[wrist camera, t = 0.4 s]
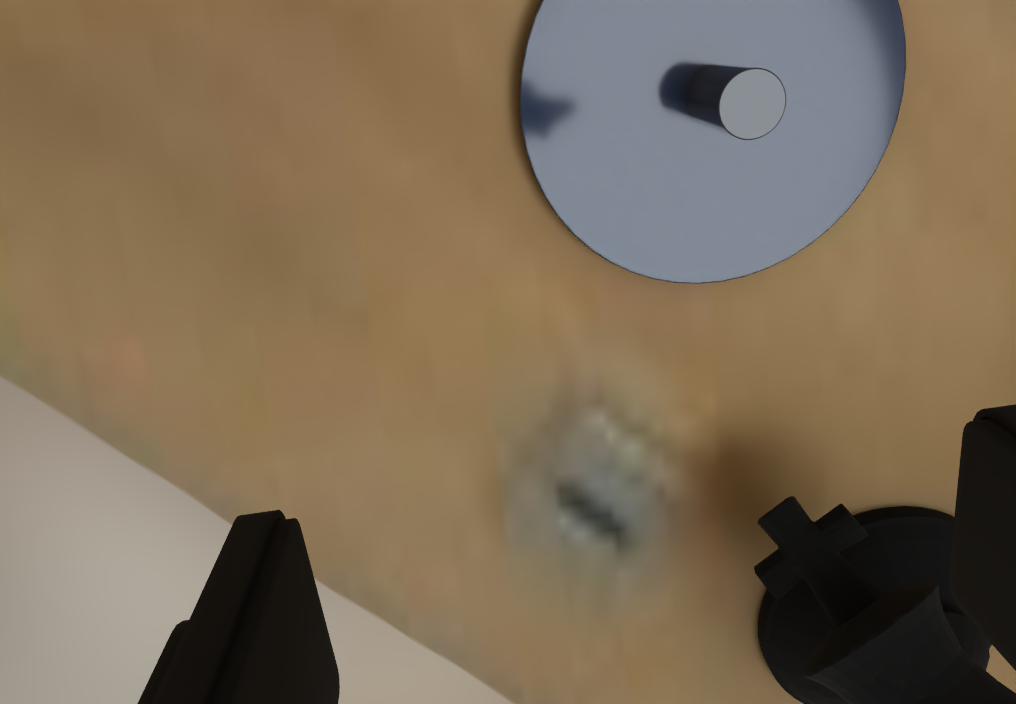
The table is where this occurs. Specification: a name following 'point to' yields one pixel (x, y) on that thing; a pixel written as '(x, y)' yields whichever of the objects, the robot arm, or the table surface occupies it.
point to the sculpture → (869, 610)
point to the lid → (708, 124)
